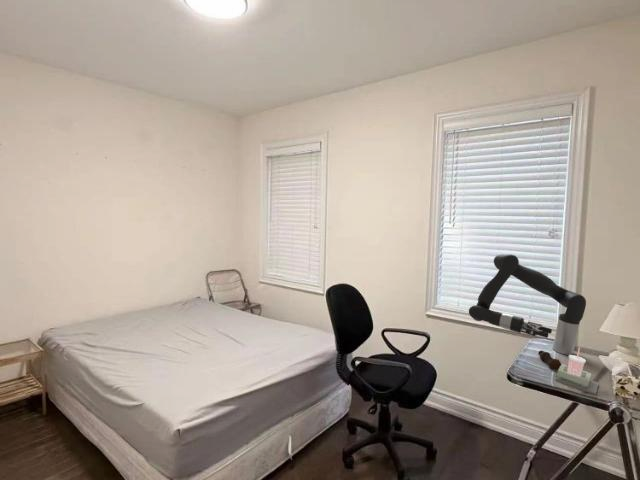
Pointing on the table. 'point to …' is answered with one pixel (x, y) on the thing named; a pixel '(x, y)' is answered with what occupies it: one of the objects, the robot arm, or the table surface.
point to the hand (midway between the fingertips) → (549, 333)
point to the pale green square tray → (577, 380)
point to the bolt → (550, 360)
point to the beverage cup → (575, 364)
